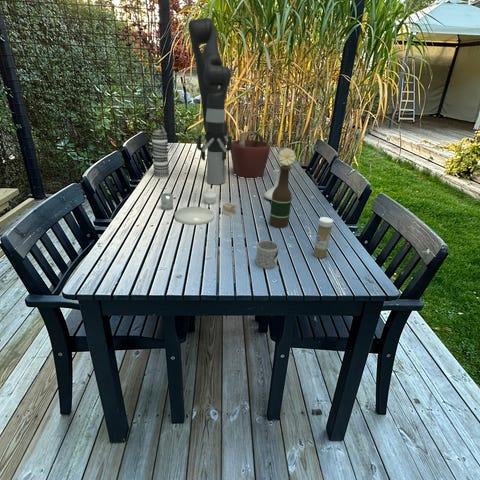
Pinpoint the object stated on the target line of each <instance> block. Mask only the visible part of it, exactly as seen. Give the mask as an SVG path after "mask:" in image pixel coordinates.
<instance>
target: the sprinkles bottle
mask: <svg viewBox="0 0 480 480" xmlns="http://www.w3.org/2000/svg"><path fill="white" fill-rule="evenodd" d="M333 225H334V219H332V218H330V217H327V216H321V217H319V219H318V228H317V233H316V237H315V243H314V249H313V251H312V252H313V253H312V254H313V256H314V257H316V258H319V259H324V258H326V257H327V255H328V254H327V253H328V248H329V244H330V240H331V234H332V228H333Z"/></svg>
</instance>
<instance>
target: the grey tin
mask: <svg viewBox="0 0 480 480" xmlns="http://www.w3.org/2000/svg"><path fill="white" fill-rule="evenodd" d="M160 205H161V207H160V208H161V210H163V211H172V210H173V209H174V195H173V194H172V193H168V192H166V193H162V194H160Z"/></svg>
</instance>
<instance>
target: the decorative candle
mask: <svg viewBox="0 0 480 480" xmlns="http://www.w3.org/2000/svg"><path fill="white" fill-rule="evenodd" d="M167 136H168V134H167V132H166V130H164V129H154V130H153V131H152V132H151V137H152V138H151V140H150V143H151V145H150V146H151V150H152V151H151V153H152V156H153V163H152V166H153V177H154V178H155V179H160V180H164V179H168V178H170V167H169V166H170V165H169V160H168V159H169V154H168V153H169V150H170V149H169V148H168V147H169V146H170V145H169V141H168V137H167Z"/></svg>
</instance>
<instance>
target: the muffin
mask: <svg viewBox="0 0 480 480" xmlns="http://www.w3.org/2000/svg"><path fill="white" fill-rule="evenodd" d="M202 196H203V199H204V201H205V203H206V204H208V205H213V204H214V203H215V201H216V199H217V197H218V196H217V193H216V192H215V190H214V189H213V188H207V189H206V191H205V192H204V193H203V194H202Z"/></svg>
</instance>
